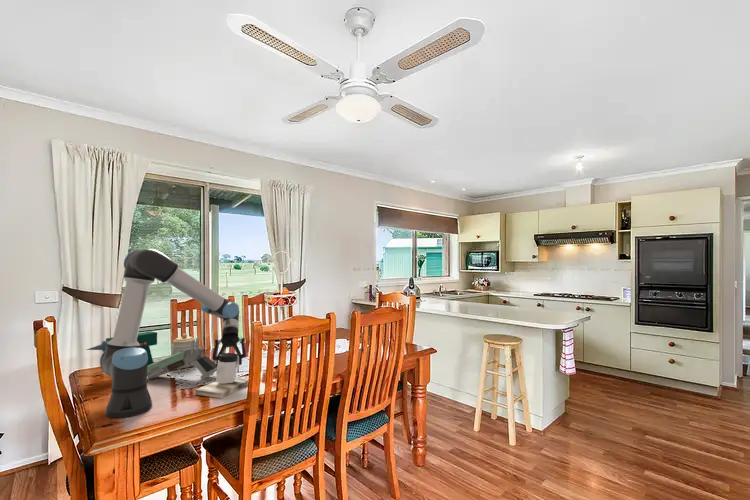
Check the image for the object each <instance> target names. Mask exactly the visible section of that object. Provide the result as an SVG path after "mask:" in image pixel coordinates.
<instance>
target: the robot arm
mask: <svg viewBox="0 0 750 500" xmlns="http://www.w3.org/2000/svg"><path fill="white" fill-rule="evenodd" d="M123 267H124V273H123V280H124V281H125V282H126V283H125V287H124V291H123V296H122V299H121V303H120V307H119V311H118V317H117V320H116V324H115V328H114V333H113V335H112V336H113V339H112V340H111V341H109V342H108V343H107V347H106V350H105V351H104V352H103V351H102V352H103V353H102V354H101V355H100V358H99V366H100V368H101V370H102V372H103V373H105V374H106V375H107V376H110V377H111V394H110V397H109V400H108V403H107V406H106V408H105V416H106V417H108V418H110V419H121V418H123V419H124V418H130V417H134V416H137V415H140V414H143V413H145V412H147V411H149V410H151V409H152V407H153V401H152V397H151V395H150V392H149V389H148V377H147V361H148V356H147V351H146V350H144V349H142V348H139V346H140V344H139V343H138V342H137V337H138V333H140V328H141V327H140V326H141V323H142V318H143V314H144V310H145V306H146V305H145V304H146V302H147V296H148V293H149V288H150V285H152V284H153V283H155V281H156V280H158V281H159V282H161V283H162V284H164V283H168V284H169V285H171V286H172V287H174V288H175V289H177V290H179V291H180V292H182V293H184V294H185V295H186V296H188V297H190V298H192V299H194V300H195V301H196V302H199V304H201V305H200V309H201V312H203V313H206V314H208V315H212V316H213V317H215V318H218V319H221V320H222V333H221V338H220V339H215V340H214V344H215V345H214V348H213V352H212V361H215V364H216V367H217V365H218V361H219V355H220V354H222V353H225V351H226V349H227V348H233V349H234V350H235V354H237V355H238V359H237V371H236V373H240V366H242V364H243V362H242V361H243V359H245V358H247V357H246V355H247V353H246V347H245V342H246V341H245V337H242V338H240V337H239V328H240V327H239V325H240V322H239V318H240V317H239V316H240V308H239V307H240V306H239V304H238V303H236V302H234V301H233V302H232V301H229V300H228V299H227V298H225V297H223V296H222V295H220V294H218V293H217V292H216V291H214V290H213V289H211V288H210V287H208V286H207V285H205V284H204V283H203V282H201V281H199V280H198V279H197V278H195V277H193V276H192V275H190V274H189V273H187V272H186V271H184V270H183V269H181V268H180V265H179V263H177V262H176V261H174V260H173V259H171V258H170V257H168V256H167V255H166V254H164V253H163V252H161V251H159V250H157V249H154V248H139V249H134V250H132V251H131V252H130V253H128V254H127V255H126V256H125V258H124V261H123ZM238 343H240V345H241V351H240V348H239V347H238ZM221 344H222V346H221V348H220V350H219V346H220V345H221ZM218 350H219V351H218ZM241 352H242V353H241ZM218 373H220V368H219V367H218Z"/></svg>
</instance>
